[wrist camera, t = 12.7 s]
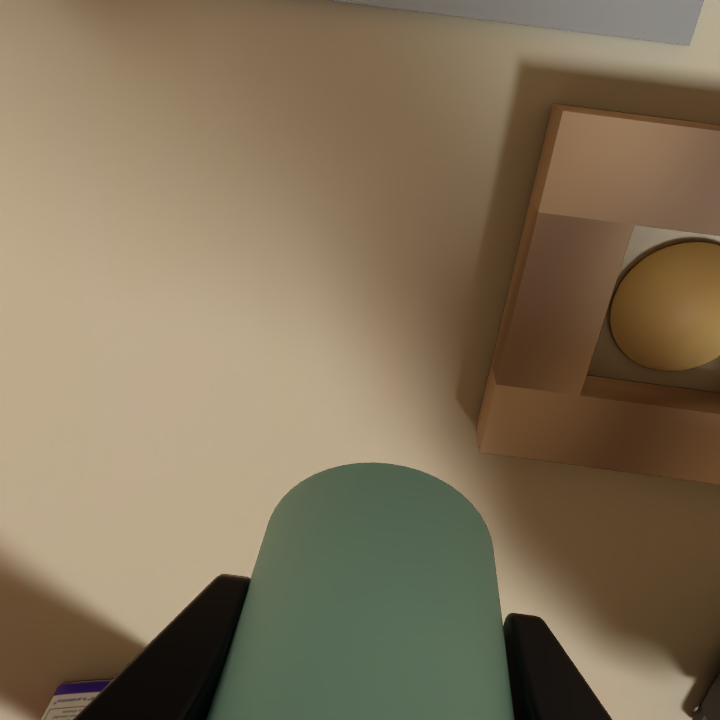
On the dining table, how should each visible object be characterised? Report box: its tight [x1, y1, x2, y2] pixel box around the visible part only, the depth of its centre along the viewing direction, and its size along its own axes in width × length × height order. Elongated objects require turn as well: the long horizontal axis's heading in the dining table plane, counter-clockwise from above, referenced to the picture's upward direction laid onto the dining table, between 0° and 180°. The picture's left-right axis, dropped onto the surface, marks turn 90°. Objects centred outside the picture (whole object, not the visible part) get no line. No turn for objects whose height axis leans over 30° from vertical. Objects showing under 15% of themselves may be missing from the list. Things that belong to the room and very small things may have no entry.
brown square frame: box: [476, 104, 720, 485], centre depth 17 cm, size 9×9×1 cm
